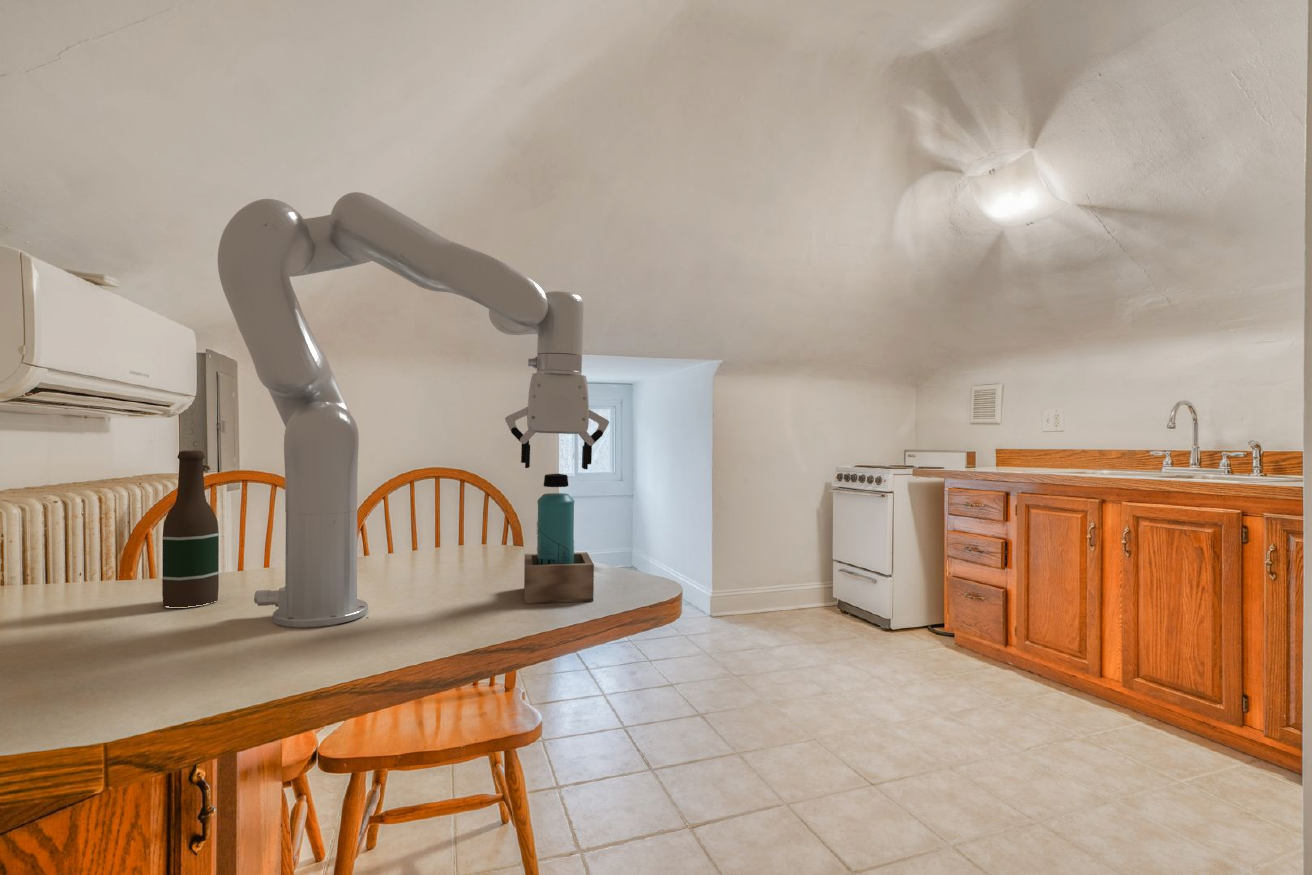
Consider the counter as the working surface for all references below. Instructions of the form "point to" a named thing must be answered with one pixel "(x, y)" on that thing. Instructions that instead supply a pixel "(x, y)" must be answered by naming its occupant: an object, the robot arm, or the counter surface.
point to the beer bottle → (190, 540)
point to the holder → (558, 580)
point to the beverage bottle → (555, 524)
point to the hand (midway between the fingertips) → (556, 468)
